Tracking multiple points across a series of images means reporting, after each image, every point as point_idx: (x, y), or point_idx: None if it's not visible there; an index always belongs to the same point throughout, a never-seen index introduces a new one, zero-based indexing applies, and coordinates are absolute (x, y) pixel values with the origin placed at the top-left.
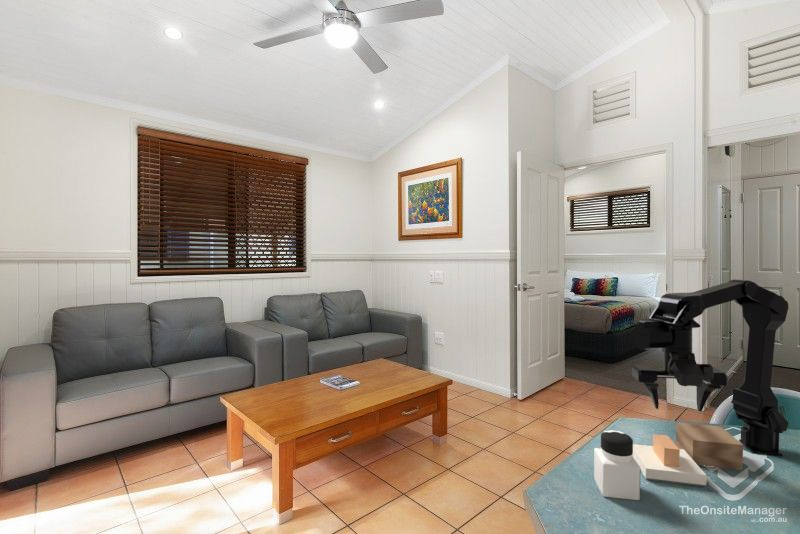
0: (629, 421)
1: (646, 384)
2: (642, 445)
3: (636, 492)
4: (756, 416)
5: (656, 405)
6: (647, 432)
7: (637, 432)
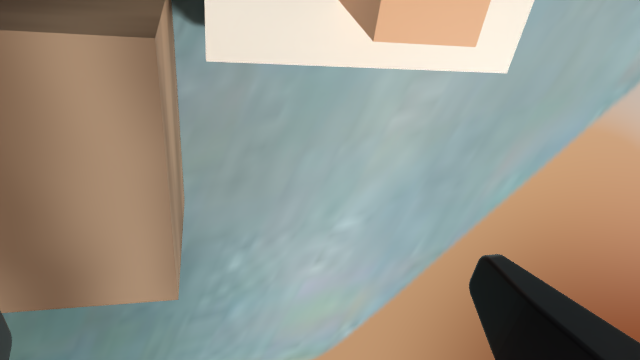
0: (306, 347)
1: None
2: (447, 66)
3: None
4: None
5: (533, 278)
6: (272, 283)
7: (317, 272)
